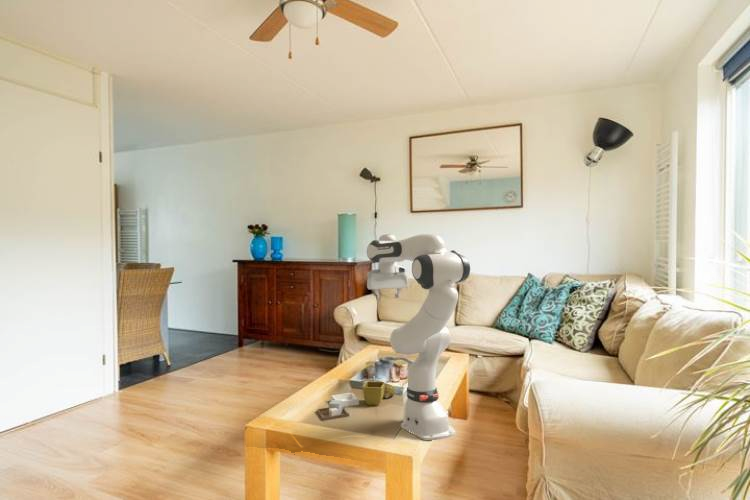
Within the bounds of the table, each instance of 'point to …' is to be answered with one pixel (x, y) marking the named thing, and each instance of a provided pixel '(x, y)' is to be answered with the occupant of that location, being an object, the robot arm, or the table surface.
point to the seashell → (388, 391)
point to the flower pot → (373, 392)
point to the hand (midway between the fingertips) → (388, 298)
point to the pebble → (336, 405)
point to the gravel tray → (325, 416)
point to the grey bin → (346, 399)
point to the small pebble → (333, 412)
